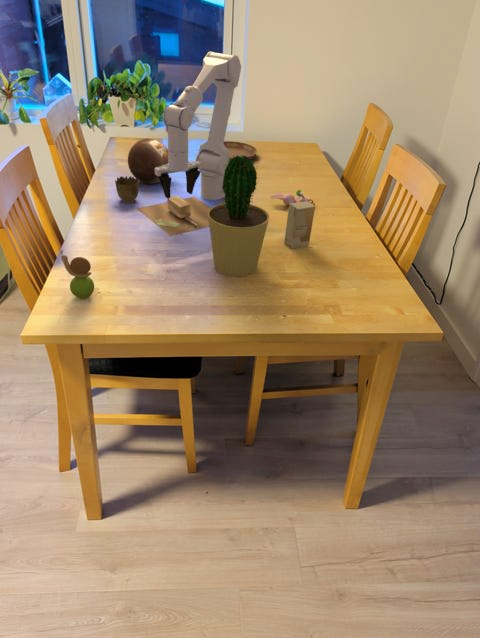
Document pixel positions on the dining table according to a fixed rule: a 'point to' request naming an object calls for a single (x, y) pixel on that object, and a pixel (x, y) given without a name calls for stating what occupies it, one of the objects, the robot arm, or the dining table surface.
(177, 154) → the robot arm
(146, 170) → the wooden sphere
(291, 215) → the skincare box
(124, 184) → the cup
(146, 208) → the brown flat square board
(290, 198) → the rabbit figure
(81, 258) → the snail figurine
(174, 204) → the peg key
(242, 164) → the potted cactus
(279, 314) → the dining table surface
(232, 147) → the plant saucer
